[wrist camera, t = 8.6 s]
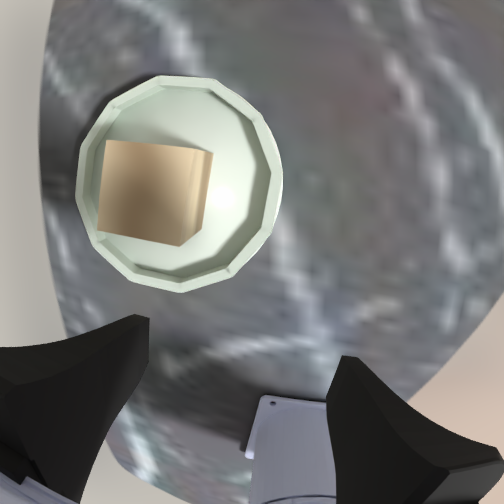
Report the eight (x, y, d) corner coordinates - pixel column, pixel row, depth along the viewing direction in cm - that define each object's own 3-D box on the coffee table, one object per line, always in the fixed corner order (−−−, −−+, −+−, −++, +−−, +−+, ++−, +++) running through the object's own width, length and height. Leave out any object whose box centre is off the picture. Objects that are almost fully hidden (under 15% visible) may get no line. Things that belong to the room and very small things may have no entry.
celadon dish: (300, 96, 17) (302, 88, 15) (260, 300, 20) (259, 312, 19) (105, 79, 17) (92, 73, 16) (83, 261, 21) (70, 268, 19)
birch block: (213, 153, 18) (193, 148, 13) (201, 228, 19) (179, 246, 14) (142, 144, 18) (106, 139, 13) (133, 216, 19) (96, 230, 15)
